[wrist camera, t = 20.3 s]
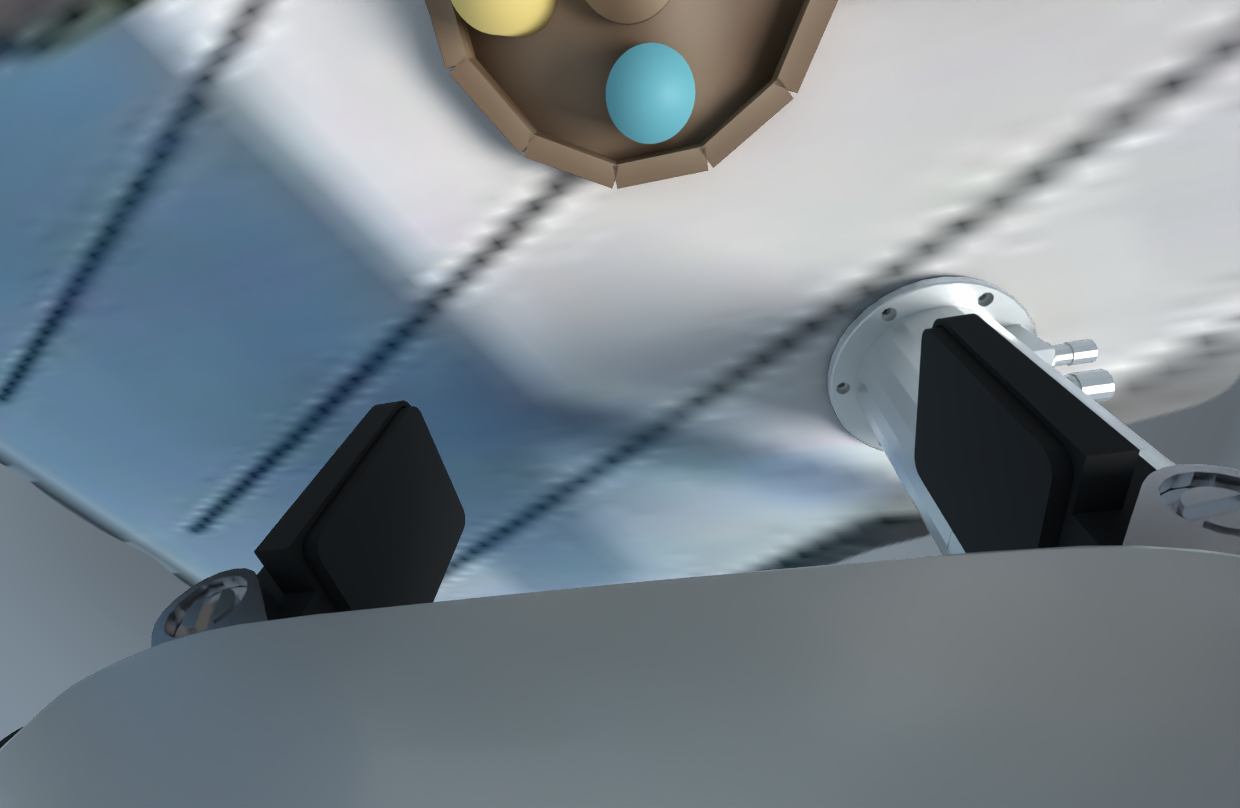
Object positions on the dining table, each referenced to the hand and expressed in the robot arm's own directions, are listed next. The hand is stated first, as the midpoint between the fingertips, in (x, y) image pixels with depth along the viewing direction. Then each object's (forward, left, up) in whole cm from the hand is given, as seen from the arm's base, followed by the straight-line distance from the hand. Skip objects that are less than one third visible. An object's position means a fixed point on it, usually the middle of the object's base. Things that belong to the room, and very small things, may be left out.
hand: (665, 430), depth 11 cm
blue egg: (0, -4, -25) cm, 26 cm away
